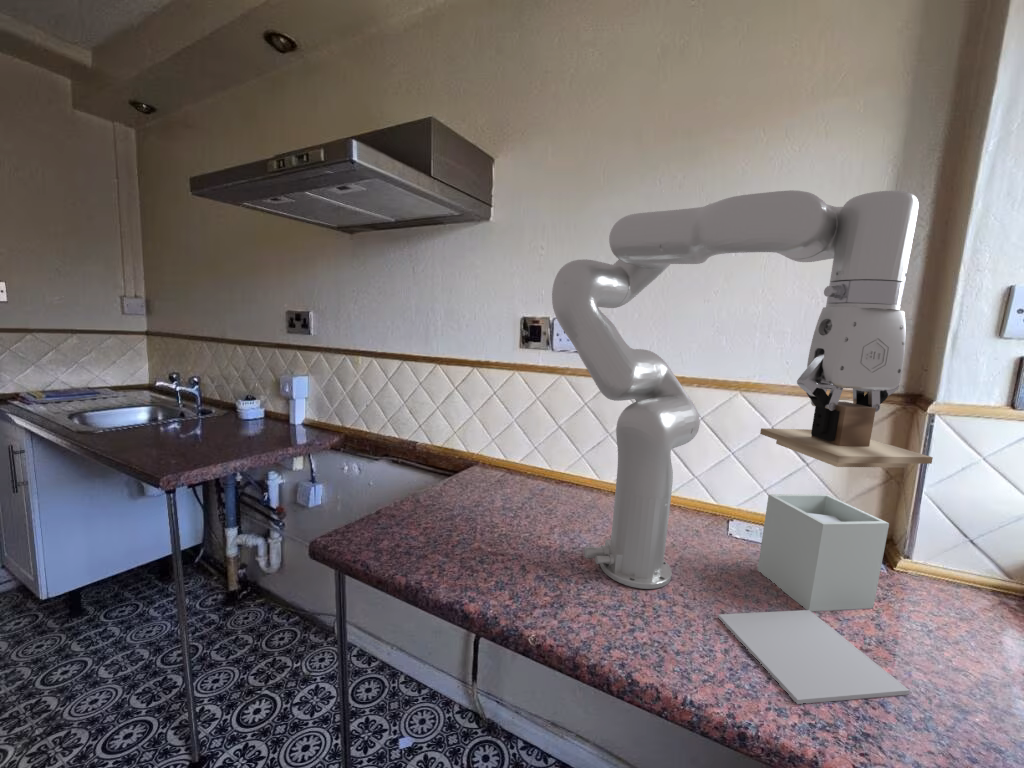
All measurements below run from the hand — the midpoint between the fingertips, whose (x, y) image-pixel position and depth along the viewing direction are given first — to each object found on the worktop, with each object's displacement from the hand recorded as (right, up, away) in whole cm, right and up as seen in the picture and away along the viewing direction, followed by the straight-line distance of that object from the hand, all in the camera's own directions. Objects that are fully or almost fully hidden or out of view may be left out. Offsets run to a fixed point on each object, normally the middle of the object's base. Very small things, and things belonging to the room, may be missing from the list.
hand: (839, 437), depth 60 cm
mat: (-2, -31, +4) cm, 31 cm away
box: (+10, -29, +21) cm, 37 cm away
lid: (0, -2, 0) cm, 2 cm away
